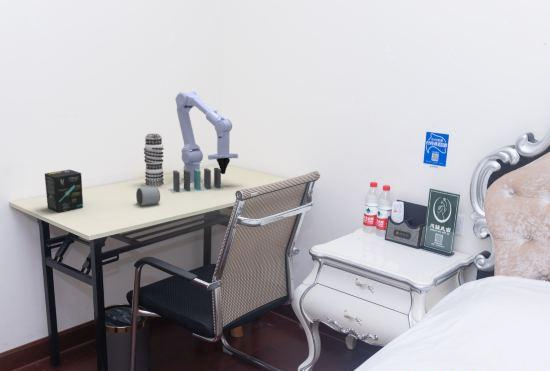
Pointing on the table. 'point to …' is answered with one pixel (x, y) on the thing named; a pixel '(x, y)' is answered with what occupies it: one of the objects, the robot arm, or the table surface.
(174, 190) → the sage board
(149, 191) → the grey cylinder
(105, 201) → the table surface
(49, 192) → the tampon box
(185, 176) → the black domino
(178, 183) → the black domino
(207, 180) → the black domino
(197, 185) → the teal domino
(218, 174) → the black domino
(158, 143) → the decorative candle
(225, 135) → the robot arm
